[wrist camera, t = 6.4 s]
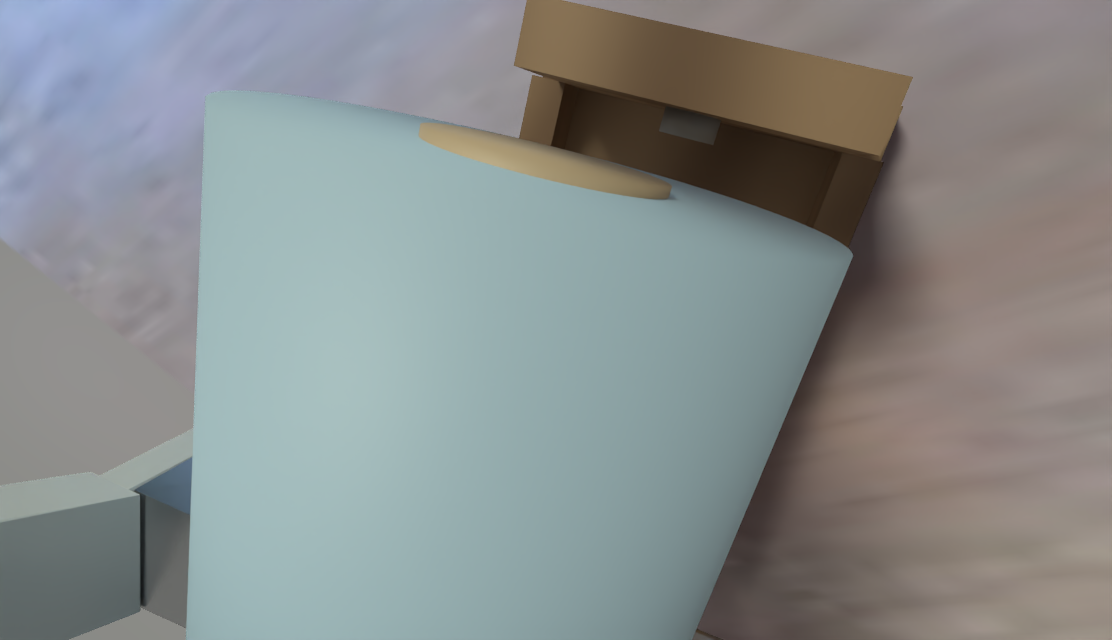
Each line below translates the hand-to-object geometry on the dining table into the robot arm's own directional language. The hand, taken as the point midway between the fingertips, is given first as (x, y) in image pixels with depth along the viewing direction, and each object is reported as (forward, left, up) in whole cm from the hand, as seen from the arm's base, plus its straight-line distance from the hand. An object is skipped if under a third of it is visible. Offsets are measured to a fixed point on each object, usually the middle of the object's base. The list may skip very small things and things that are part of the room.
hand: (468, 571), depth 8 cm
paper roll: (0, 0, -2) cm, 2 cm away
